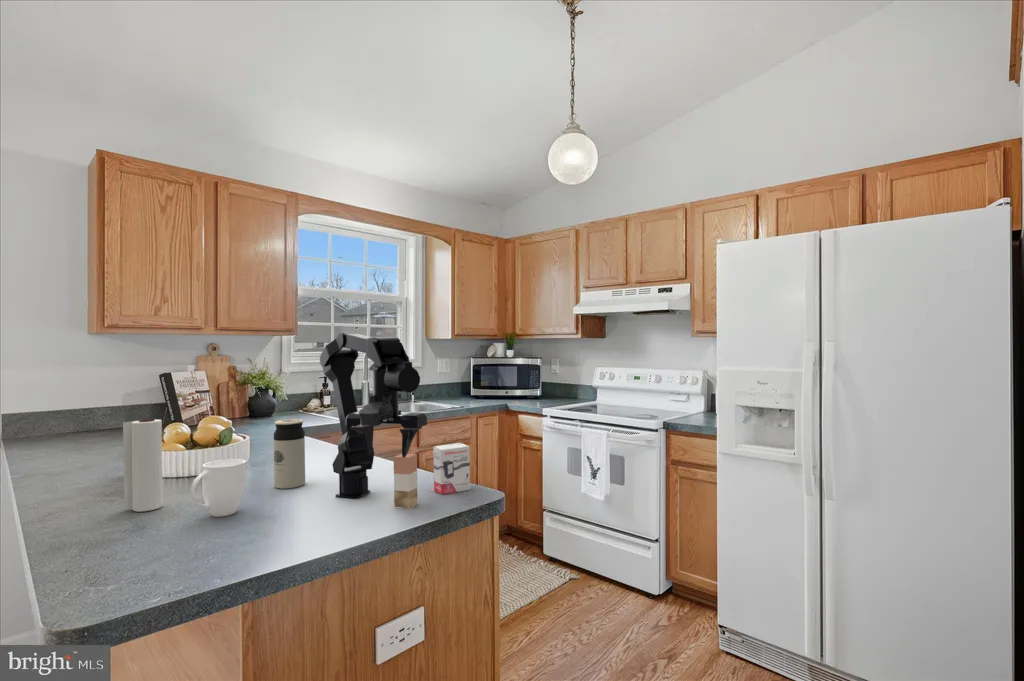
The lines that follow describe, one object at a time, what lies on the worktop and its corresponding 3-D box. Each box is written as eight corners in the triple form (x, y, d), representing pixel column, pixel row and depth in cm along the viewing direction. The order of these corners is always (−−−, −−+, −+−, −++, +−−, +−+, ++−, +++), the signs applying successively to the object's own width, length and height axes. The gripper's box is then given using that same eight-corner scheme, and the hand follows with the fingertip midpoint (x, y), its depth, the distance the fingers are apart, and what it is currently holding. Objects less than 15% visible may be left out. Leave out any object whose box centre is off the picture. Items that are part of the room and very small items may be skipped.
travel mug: (297, 480, 154) (296, 418, 155) (310, 485, 149) (309, 420, 149) (269, 485, 149) (268, 421, 149) (281, 491, 143) (280, 423, 143)
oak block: (394, 507, 127) (394, 490, 128) (403, 502, 131) (402, 485, 131) (409, 508, 126) (409, 491, 126) (417, 503, 130) (417, 487, 130)
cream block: (394, 490, 128) (394, 473, 128) (402, 485, 131) (402, 469, 131) (409, 491, 126) (408, 474, 126) (417, 487, 130) (417, 470, 130)
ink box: (441, 495, 137) (441, 449, 137) (433, 490, 141) (432, 446, 141) (470, 489, 142) (470, 445, 142) (462, 485, 146) (461, 442, 146)
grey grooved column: (168, 506, 131) (167, 419, 131) (142, 513, 125) (141, 422, 125) (150, 503, 134) (149, 417, 134) (124, 510, 128) (122, 421, 129)
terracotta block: (393, 473, 128) (393, 456, 128) (402, 469, 131) (402, 453, 131) (408, 474, 126) (408, 457, 126) (416, 470, 130) (416, 454, 130)
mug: (230, 505, 131) (230, 456, 131) (253, 511, 126) (253, 460, 126) (181, 519, 120) (181, 466, 120) (204, 526, 116) (205, 471, 116)
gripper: (331, 392, 121) (331, 461, 121) (405, 394, 116) (406, 466, 116) (358, 388, 132) (359, 451, 132) (427, 389, 126) (428, 455, 126)
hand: (386, 456), depth 126 cm, fingers open, 9 cm apart
